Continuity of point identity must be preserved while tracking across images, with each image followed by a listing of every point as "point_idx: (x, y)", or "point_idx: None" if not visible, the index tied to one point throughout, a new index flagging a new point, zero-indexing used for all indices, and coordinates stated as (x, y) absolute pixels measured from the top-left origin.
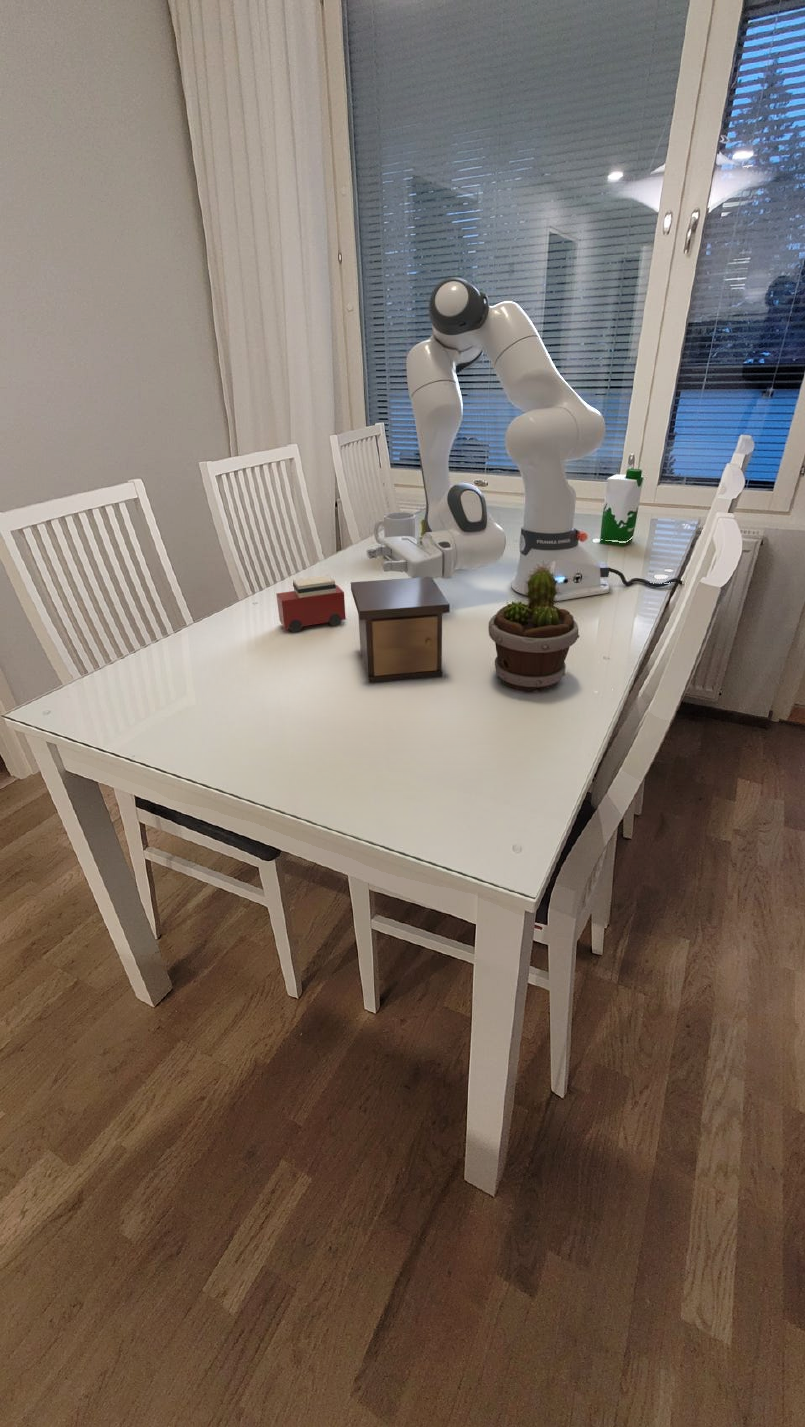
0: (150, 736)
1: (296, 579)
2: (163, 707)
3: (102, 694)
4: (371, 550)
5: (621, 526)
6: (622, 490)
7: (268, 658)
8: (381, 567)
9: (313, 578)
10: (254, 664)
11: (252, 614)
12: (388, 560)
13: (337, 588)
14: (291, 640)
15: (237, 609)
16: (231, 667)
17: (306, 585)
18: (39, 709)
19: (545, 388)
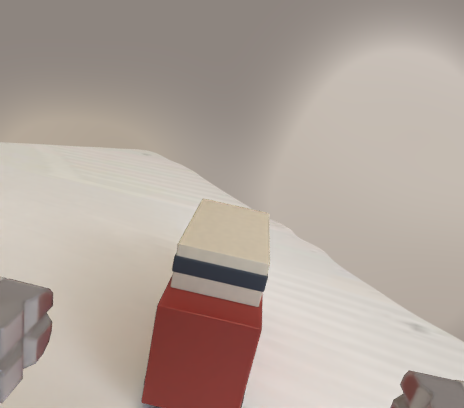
0: (26, 152)
1: (264, 215)
2: (73, 167)
3: (150, 167)
4: (424, 384)
5: None
6: None
7: (95, 237)
8: (45, 324)
9: (248, 231)
10: (92, 223)
11: (339, 299)
12: (6, 324)
13: (215, 310)
14: (141, 282)
15: (378, 295)
16: (111, 211)
17: (198, 207)
18: (157, 155)
19: None
